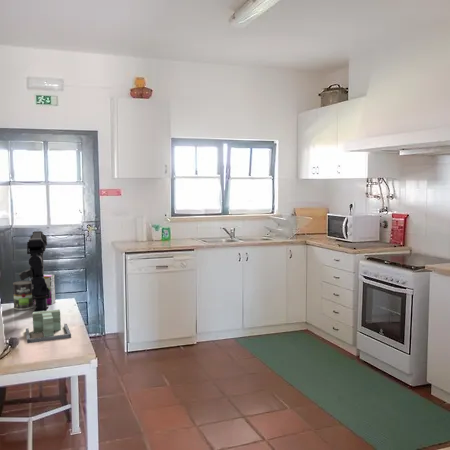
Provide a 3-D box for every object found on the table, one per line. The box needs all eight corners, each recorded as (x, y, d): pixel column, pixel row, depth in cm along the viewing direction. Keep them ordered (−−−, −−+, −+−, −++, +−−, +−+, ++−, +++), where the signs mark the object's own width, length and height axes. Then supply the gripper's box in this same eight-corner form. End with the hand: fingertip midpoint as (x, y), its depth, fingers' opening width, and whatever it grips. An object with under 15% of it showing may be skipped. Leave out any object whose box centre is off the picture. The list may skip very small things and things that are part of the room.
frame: (25, 331, 235) (25, 328, 235) (66, 326, 242) (66, 323, 242) (27, 343, 219) (27, 340, 219) (71, 337, 226) (71, 334, 226)
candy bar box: (33, 304, 284) (31, 275, 282) (37, 302, 289) (35, 274, 287) (52, 304, 283) (50, 276, 281) (55, 302, 288) (54, 274, 286)
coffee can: (34, 308, 275) (33, 283, 274) (14, 310, 271) (12, 285, 269) (33, 304, 284) (32, 279, 283) (13, 306, 280) (12, 281, 279)
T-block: (33, 330, 236) (32, 312, 235) (60, 327, 241) (59, 309, 240) (34, 339, 223) (33, 320, 222) (63, 336, 228) (62, 316, 227)
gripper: (18, 262, 256) (20, 292, 258) (19, 268, 239) (21, 300, 241) (41, 260, 261) (43, 290, 262) (44, 266, 244) (45, 298, 245)
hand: (38, 294), depth 253 cm, fingers closed
